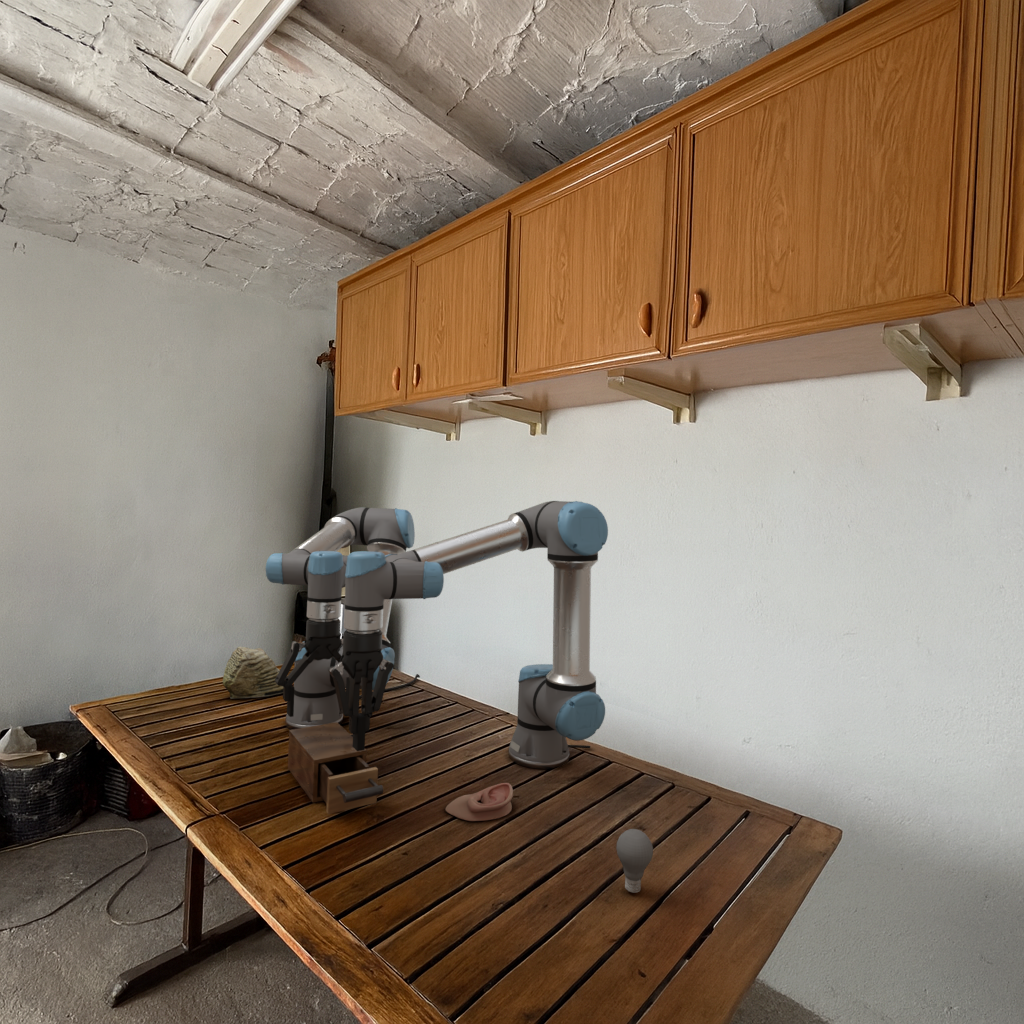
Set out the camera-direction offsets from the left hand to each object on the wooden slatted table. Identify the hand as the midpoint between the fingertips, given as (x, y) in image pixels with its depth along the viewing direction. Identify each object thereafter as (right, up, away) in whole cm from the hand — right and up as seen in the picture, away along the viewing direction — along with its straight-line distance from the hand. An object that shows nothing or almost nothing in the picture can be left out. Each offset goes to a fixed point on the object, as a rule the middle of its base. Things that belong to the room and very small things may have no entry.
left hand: (320, 710), depth 146 cm
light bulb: (+64, -18, -40) cm, 78 cm away
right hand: (+14, -1, -20) cm, 25 cm away
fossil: (-36, -12, +52) cm, 64 cm away
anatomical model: (+38, -16, -15) cm, 43 cm away
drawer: (+9, -14, -14) cm, 21 cm away
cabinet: (+2, -14, -4) cm, 15 cm away
